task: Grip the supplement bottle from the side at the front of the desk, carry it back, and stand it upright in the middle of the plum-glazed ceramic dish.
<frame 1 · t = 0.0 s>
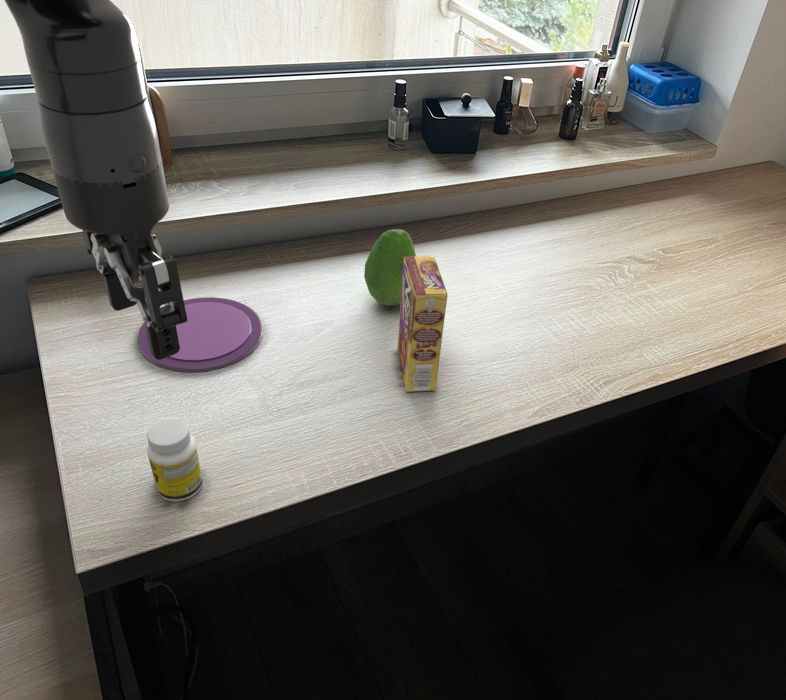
hand: (145, 329, 64), 22 cm above the table, tool pointing down, fingers open, 8 cm apart
supplement bottle: (180, 486, 78), on the table
avocado: (389, 301, 109), on the table
candy box: (416, 371, 97), on the table
plum dish: (202, 334, 98), on the table
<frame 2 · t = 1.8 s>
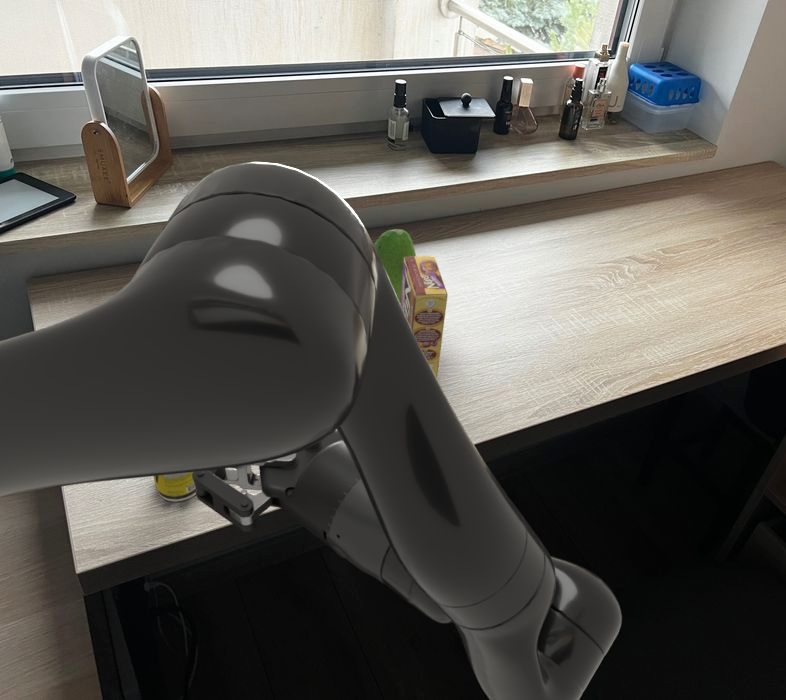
hand: (229, 411, 62), 18 cm above the table, tool horizontal, fingers open, 8 cm apart
nothing on the table moved.
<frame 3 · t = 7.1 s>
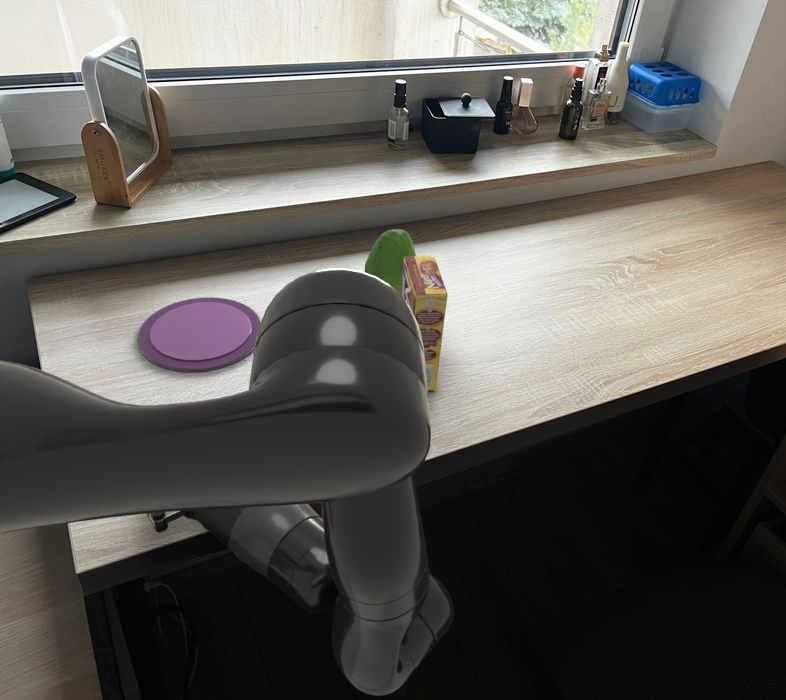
hand: (156, 434, 75), 6 cm above the table, tool horizontal, fingers closed on supplement bottle, 4 cm apart
supplement bottle: (180, 486, 78), on the table, touching gripper
everything else where it was.
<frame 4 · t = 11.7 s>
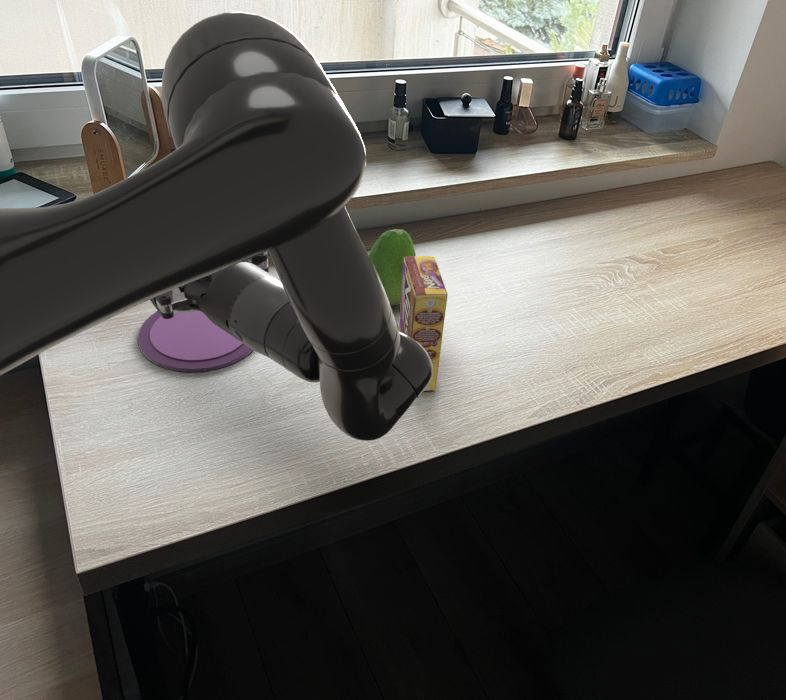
hand: (163, 249, 82), 18 cm above the table, tool horizontal, fingers closed on supplement bottle, 4 cm apart
supplement bottle: (186, 304, 84), point 11 cm above the table, touching gripper
everything else where it was.
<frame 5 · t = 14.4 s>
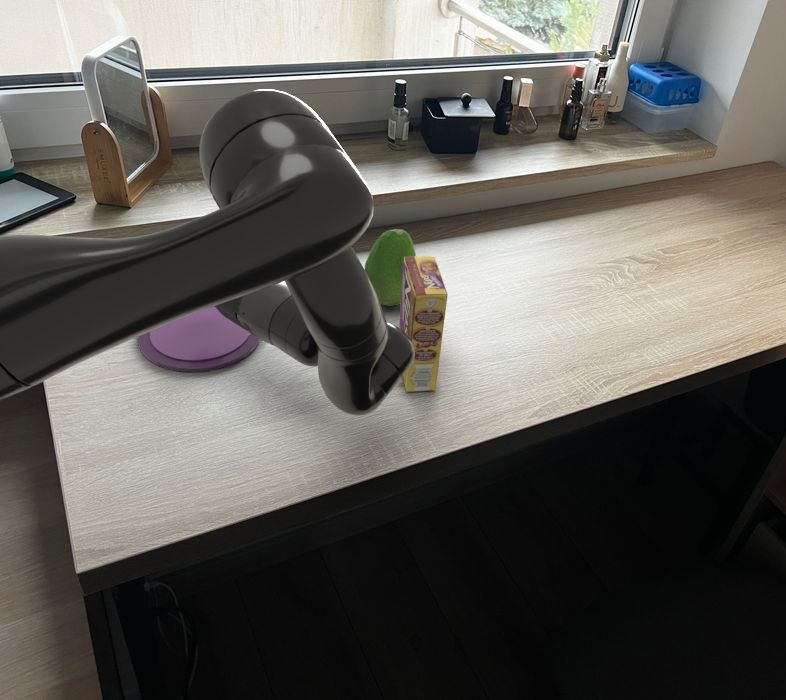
hand: (177, 251, 92), 12 cm above the table, tool horizontal, fingers closed on supplement bottle, 4 cm apart
supplement bottle: (197, 300, 95), point 6 cm above the table, touching gripper
everything else where it was.
when the fingers open (7 cm above the table, at t = 16.3 s): supplement bottle stays where it is, resting on plum dish.
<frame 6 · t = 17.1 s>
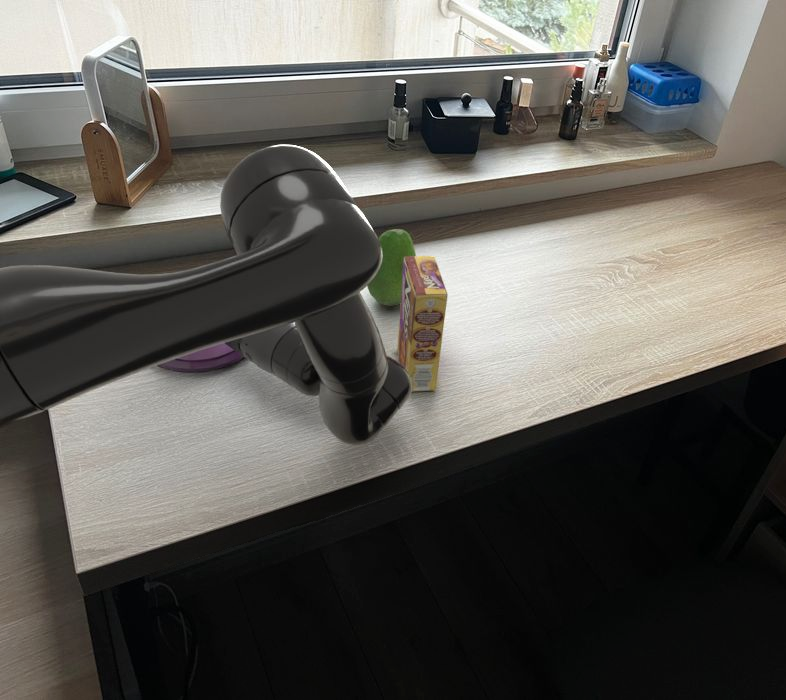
hand: (185, 281, 94), 8 cm above the table, tool horizontal, fingers open, 8 cm apart
supplement bottle: (202, 331, 98), point 1 cm above the table, touching plum dish
everything else where it was.
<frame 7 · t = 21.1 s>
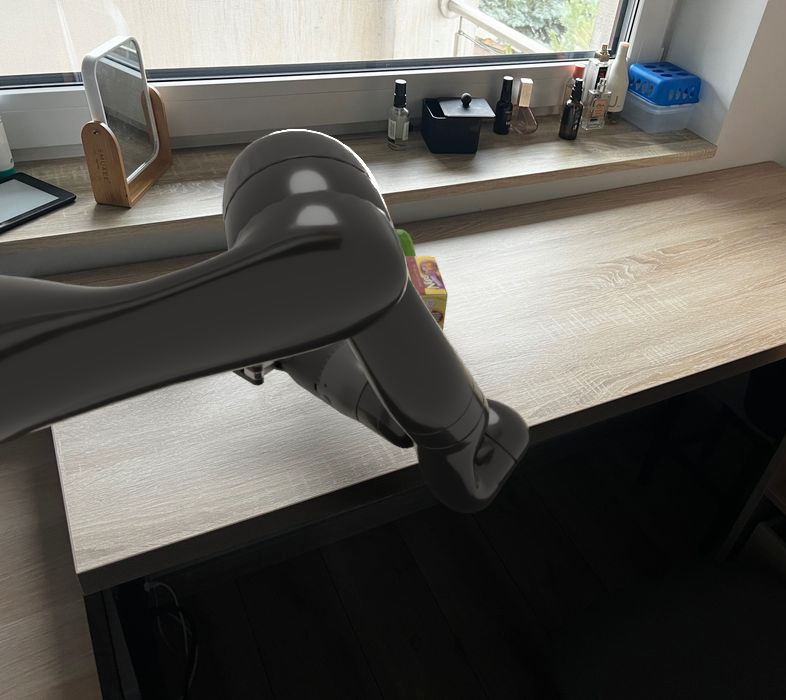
hand: (242, 306, 80), 15 cm above the table, tool horizontal, fingers open, 8 cm apart
nothing on the table moved.
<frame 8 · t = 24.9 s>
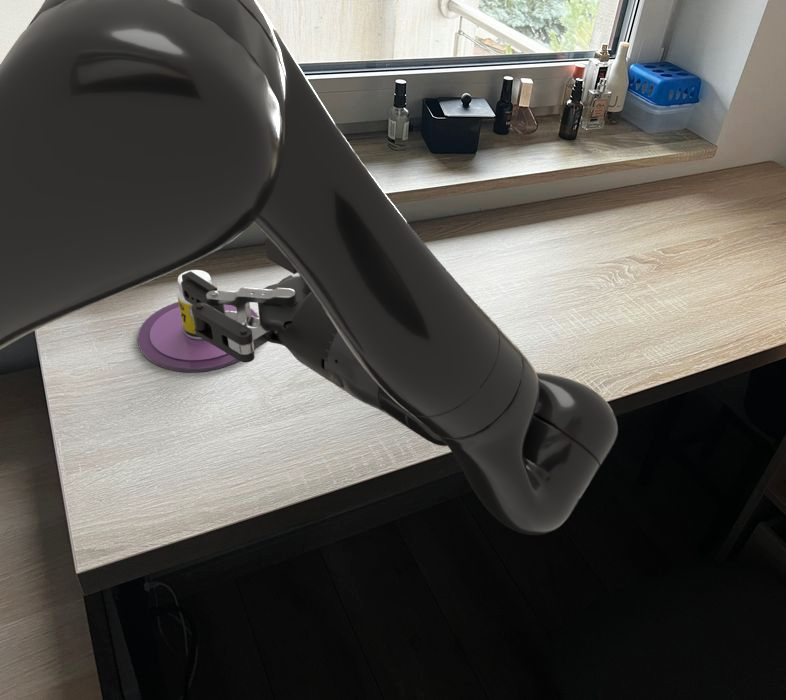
hand: (229, 263, 62), 28 cm above the table, tool horizontal, fingers open, 8 cm apart
nothing on the table moved.
at the end: supplement bottle inside the target area on the plum dish (0.2 cm from its centre), point 0.6 cm above the plum dish's base; supplement bottle tilted 0°; the gripper is holding nothing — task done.
